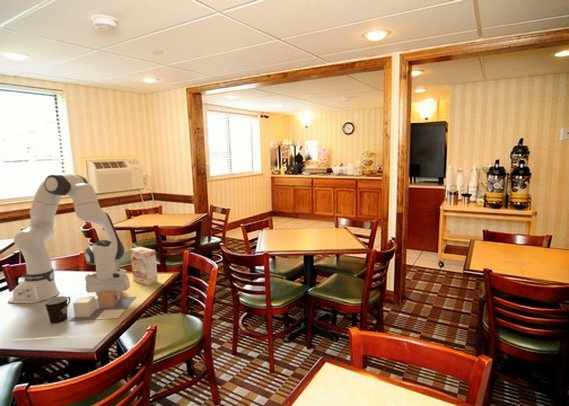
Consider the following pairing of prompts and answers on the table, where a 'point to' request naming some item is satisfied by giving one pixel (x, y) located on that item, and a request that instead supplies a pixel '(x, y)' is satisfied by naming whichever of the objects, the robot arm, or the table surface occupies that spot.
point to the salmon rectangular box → (107, 299)
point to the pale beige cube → (84, 306)
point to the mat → (108, 310)
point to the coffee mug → (57, 309)
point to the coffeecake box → (144, 265)
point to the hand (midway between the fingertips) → (109, 299)
